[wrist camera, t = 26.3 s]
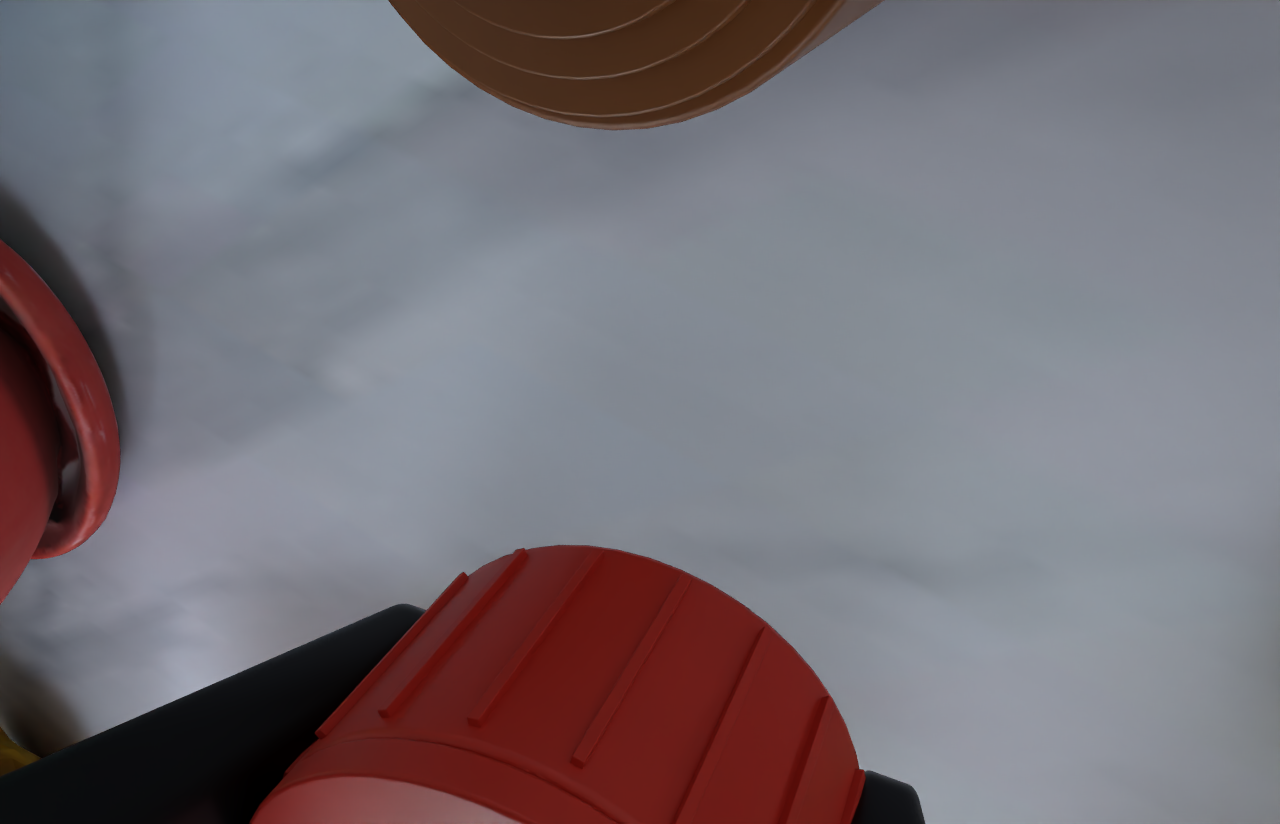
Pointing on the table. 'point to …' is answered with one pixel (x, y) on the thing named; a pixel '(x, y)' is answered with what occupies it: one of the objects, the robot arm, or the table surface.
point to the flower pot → (48, 426)
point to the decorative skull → (13, 755)
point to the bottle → (624, 51)
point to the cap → (579, 710)
